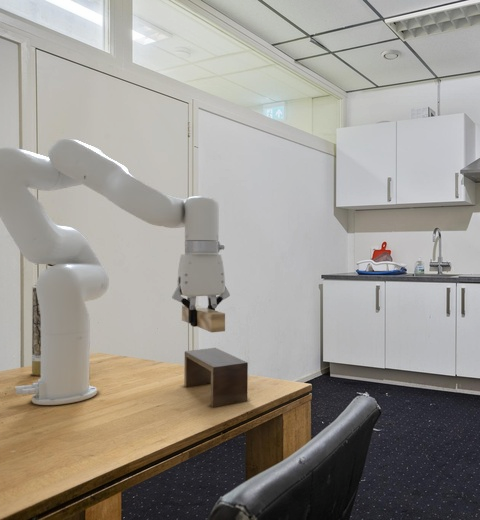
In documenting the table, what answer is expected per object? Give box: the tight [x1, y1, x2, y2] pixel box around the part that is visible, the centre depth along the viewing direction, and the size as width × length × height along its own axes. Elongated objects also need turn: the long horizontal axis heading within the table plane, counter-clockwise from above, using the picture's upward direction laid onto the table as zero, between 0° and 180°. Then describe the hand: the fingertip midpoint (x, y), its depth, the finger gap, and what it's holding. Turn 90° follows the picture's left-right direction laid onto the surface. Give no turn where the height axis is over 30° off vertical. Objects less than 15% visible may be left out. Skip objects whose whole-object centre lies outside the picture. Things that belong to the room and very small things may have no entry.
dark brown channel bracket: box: [183, 347, 249, 408], centre depth 115 cm, size 8×22×9 cm, turn 39°
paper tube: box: [31, 284, 41, 377], centre depth 132 cm, size 7×7×25 cm
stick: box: [181, 304, 226, 333], centre depth 112 cm, size 24×3×4 cm, turn 38°
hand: (201, 324), depth 112 cm, fingers closed on stick, 3 cm apart
